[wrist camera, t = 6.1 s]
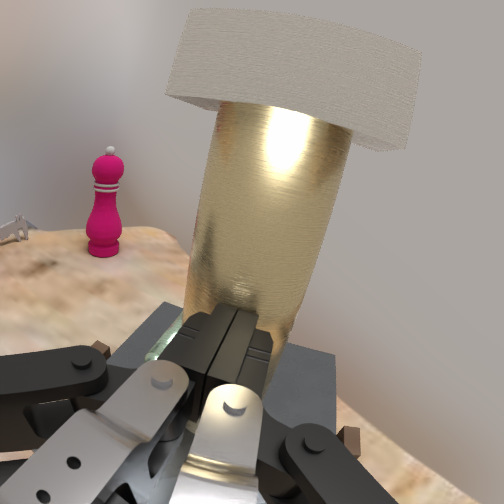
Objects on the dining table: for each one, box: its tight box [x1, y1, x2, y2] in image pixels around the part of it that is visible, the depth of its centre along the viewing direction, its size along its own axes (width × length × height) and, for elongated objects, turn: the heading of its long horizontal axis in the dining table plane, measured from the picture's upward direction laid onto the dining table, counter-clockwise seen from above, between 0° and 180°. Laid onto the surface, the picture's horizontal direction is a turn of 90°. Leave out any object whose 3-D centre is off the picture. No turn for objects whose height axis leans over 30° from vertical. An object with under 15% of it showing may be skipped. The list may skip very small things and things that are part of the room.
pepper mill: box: [86, 146, 124, 257], centre depth 45 cm, size 7×7×20 cm
